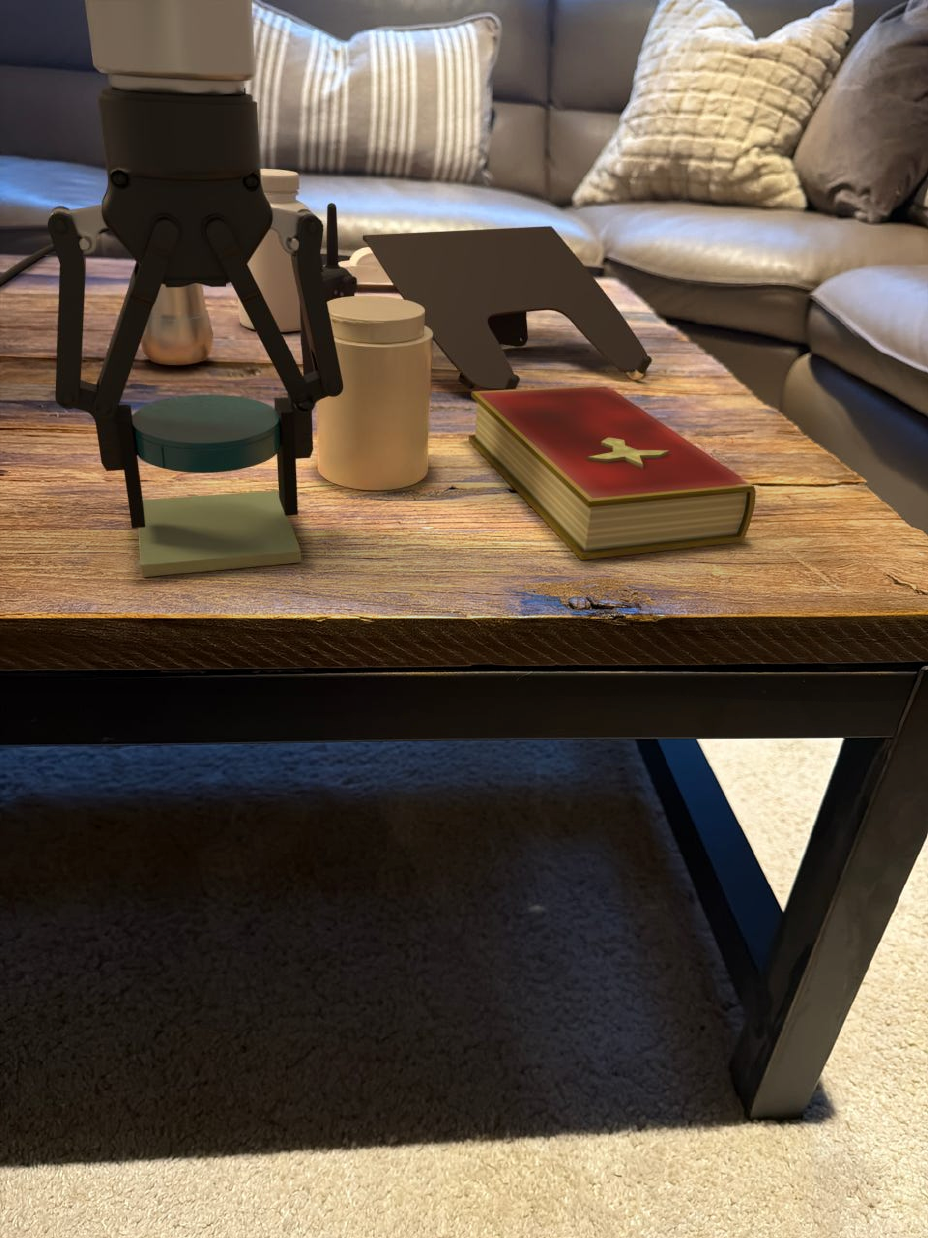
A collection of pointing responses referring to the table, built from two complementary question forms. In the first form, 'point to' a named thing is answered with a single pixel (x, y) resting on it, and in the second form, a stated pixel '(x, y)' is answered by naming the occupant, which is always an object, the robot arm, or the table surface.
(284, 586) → the table surface
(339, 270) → the two-way radio
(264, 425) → the jar lid
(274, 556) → the coaster
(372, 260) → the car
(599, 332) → the laptop tray
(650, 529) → the hardcover book
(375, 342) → the jar
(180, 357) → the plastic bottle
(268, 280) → the pill bottle
